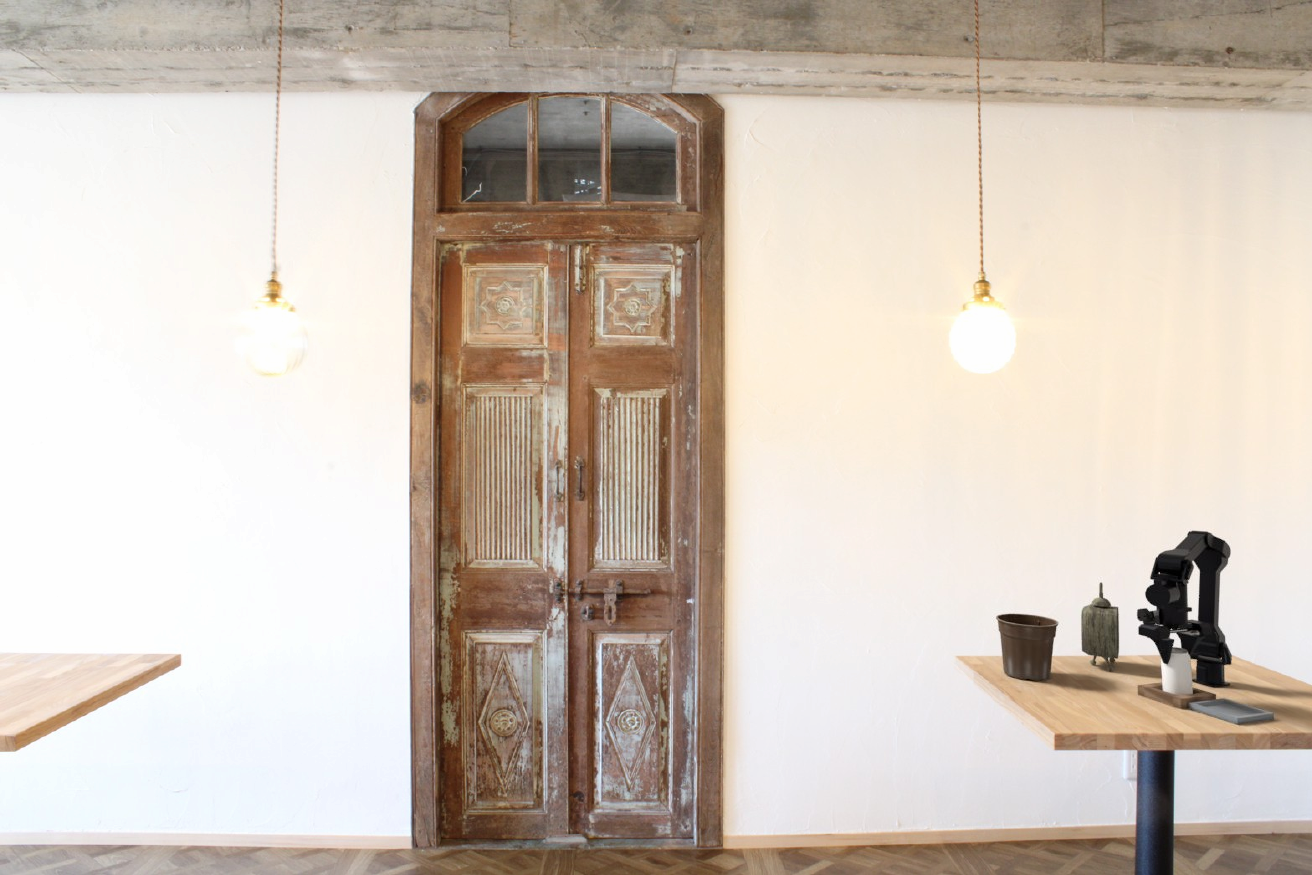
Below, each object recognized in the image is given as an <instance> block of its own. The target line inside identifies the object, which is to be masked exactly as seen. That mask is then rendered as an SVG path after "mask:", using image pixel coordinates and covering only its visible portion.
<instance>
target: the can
mask: <svg viewBox="0 0 1312 875" xmlns="http://www.w3.org/2000/svg"><path fill="white" fill-rule="evenodd" d="M1160 665H1161V666H1160V667H1161V682H1162V685H1163V691H1166V692H1169V693H1172V694H1175V695H1178V696H1181V695H1189V694H1193V688H1194V687H1193V681H1192V679H1193V675H1192V674H1193V673H1192V671H1193V670H1192V659H1191V658H1190V655H1189V654H1188V650H1186V649H1183V648H1181V647H1176V646H1173V648H1172V652H1171V656H1170V660H1169V663H1168V664H1164V663H1163V661H1162V658H1161V657H1160Z"/></svg>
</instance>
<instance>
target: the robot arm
mask: <svg viewBox="0 0 1312 875" xmlns="http://www.w3.org/2000/svg"><path fill="white" fill-rule="evenodd" d="M1231 553H1232V552H1231V546H1230V545H1229V544H1228V543H1227V541H1226V540H1224V539H1223V538H1219V537H1217V536H1215V535H1214V534H1212V532H1209V531H1204V530H1202V531H1201V530H1190V531H1188V532H1187V535H1186V536H1185V538H1184V539H1183V540H1181V542H1180V543H1179V544H1178V545H1176V546H1175V548H1173V549H1168V550H1163V551H1161V552H1160V553H1158V555H1157V556H1156V557H1155V559H1154V563H1153V567H1152V570H1151V573H1150V576H1149V579H1150V580H1152V581H1153V584H1150V585H1149V586H1147V588H1146V590H1145V592H1144V593H1145V594H1144V595H1145V599H1146V600H1147V602H1148V603H1149V604H1150V605H1152V606H1153V607H1156V608H1155V609H1156V610H1149V609H1148V608H1147V607H1146V608H1145V607H1144V608H1138V609H1137V610H1136V611H1137V612H1136V616H1137V617H1136V618H1137V620H1138V621H1139V622H1142V624H1140V625H1139V626H1138V629H1137V631H1138V635H1139V636H1143V637H1146V638H1147V639H1150V640H1152V642H1153V643H1154V644H1155V647H1156V648H1157V651H1158V654H1159V655H1160V659H1161V658H1162V661H1163V663H1164V664H1168V663H1169V660H1170V656H1171V652H1172V648H1173V647H1174V643H1175V639H1174V638H1171V637H1170V636H1171V634H1176V636H1178V638H1179V640H1180V648H1183V649H1186V650H1188V654H1189V655H1190V658H1191V660H1194V661H1195V660H1196V666H1195V674H1196V675H1195V676H1196V677H1195V678H1192V682H1194V683H1197V684H1202V685H1203V686H1204V685H1205V686H1208V687H1211V688H1217V687H1224V686H1225V687H1226V686H1227V687H1228V686H1230V685H1231V683H1230V682H1227V681H1225V666H1230V665H1231V666H1232V661H1233V659H1232V658H1233V656H1232V653H1231V650H1230V648H1229V646H1228V645H1227V643H1226V635H1225V634H1224V633H1223V631H1222V629H1221V628H1220V626H1219V622H1220V620H1219V618H1220V588H1221V573H1222V572H1223V570H1225V568H1226V567H1227V565H1228V564H1229V558H1230V557H1231ZM1194 564H1195V565H1196V568H1197V569H1198V571H1199V581H1198V582H1199V583H1198V603H1197V604H1198V605H1197V607H1198V610H1197V620H1196V619H1189V613H1190V612H1192V611H1193V608H1192V607H1190V606H1189V604H1188V603H1189V602H1188V598H1189V597H1188V584H1189V583H1190V582H1189V581H1190V580H1191V577H1192V574H1193V571H1194V569H1195V565H1194Z"/></svg>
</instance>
